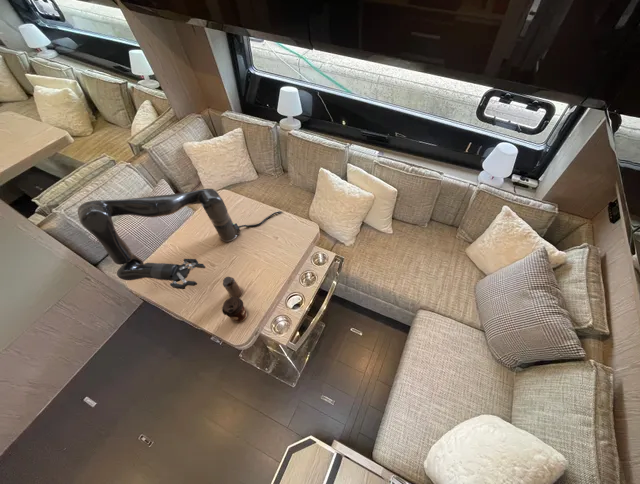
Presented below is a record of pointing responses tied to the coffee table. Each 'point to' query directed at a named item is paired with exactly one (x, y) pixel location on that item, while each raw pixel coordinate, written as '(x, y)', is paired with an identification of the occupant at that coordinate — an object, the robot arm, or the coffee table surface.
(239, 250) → the coffee table surface
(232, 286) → the pepper mill
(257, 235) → the coffee table surface
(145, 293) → the coffee table surface
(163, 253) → the coffee table surface
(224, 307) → the dark brown cylinder
